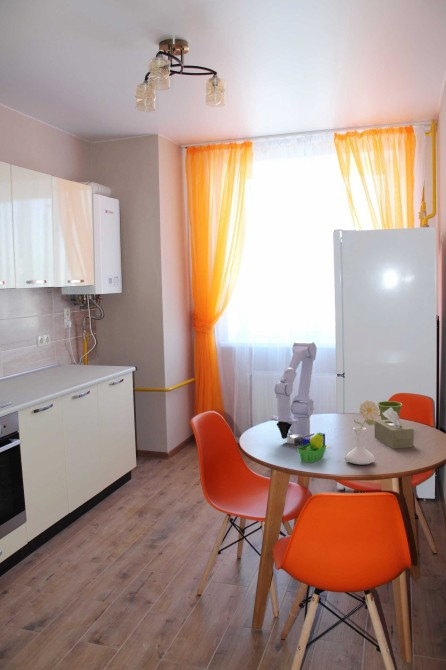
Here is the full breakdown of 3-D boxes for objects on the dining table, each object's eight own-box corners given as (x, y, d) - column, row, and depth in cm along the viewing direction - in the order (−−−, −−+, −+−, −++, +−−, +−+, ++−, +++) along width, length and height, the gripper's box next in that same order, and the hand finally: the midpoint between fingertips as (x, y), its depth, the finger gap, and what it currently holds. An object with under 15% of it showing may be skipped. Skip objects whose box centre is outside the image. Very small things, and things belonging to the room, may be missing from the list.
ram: (287, 445, 243) (287, 436, 242) (295, 442, 247) (295, 433, 246) (295, 447, 239) (295, 438, 239) (303, 444, 244) (303, 435, 243)
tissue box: (374, 437, 252) (373, 403, 251) (394, 435, 254) (394, 402, 252) (392, 449, 234) (392, 412, 232) (414, 447, 235) (414, 411, 234)
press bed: (278, 447, 240) (278, 445, 240) (299, 439, 251) (299, 437, 251) (309, 455, 228) (309, 452, 228) (330, 446, 239) (330, 444, 239)
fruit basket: (311, 453, 230) (310, 427, 229) (330, 457, 224) (329, 430, 223) (296, 461, 221) (296, 433, 220) (316, 465, 216) (315, 437, 215)
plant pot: (372, 425, 273) (372, 402, 272) (390, 421, 278) (390, 400, 277) (388, 430, 262) (388, 407, 261) (407, 427, 267) (407, 404, 266)
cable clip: (316, 445, 242) (316, 431, 241) (325, 447, 238) (325, 433, 238) (299, 451, 233) (299, 437, 233) (308, 453, 230) (308, 439, 230)
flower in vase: (345, 466, 213) (345, 403, 210) (344, 457, 224) (344, 397, 222) (380, 467, 210) (380, 403, 208) (377, 458, 221) (377, 397, 219)
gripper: (265, 407, 248) (266, 437, 250) (291, 412, 238) (291, 443, 239) (275, 405, 253) (276, 434, 255) (301, 409, 243) (301, 439, 244)
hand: (284, 438), depth 247 cm, fingers closed
